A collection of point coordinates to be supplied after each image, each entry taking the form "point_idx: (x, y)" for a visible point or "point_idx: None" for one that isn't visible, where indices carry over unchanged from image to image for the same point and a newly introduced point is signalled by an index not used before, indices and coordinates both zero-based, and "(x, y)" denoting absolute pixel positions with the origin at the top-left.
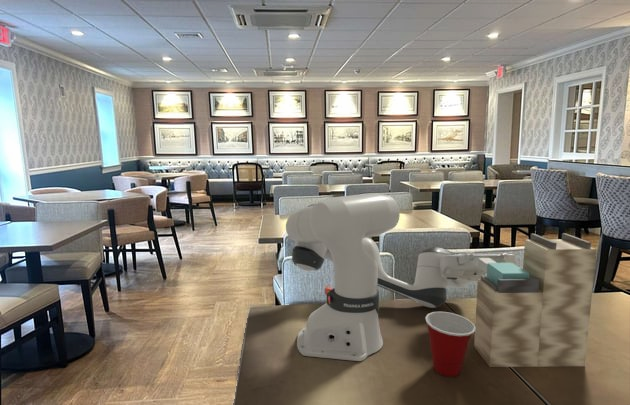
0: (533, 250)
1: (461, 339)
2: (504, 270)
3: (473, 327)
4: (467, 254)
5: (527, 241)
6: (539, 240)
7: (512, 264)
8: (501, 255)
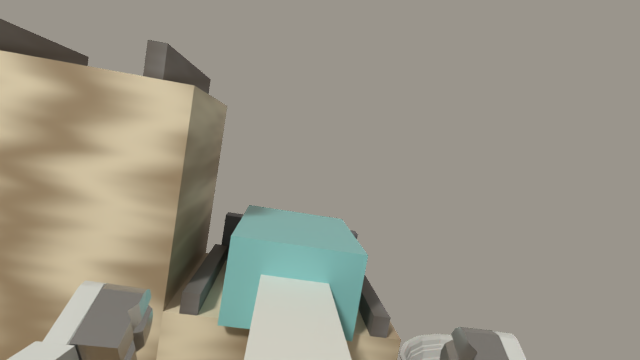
0: (207, 127)
1: (431, 354)
2: (323, 222)
3: (405, 355)
4: (508, 333)
5: (200, 93)
6: (189, 77)
7: (248, 229)
8: (131, 330)
